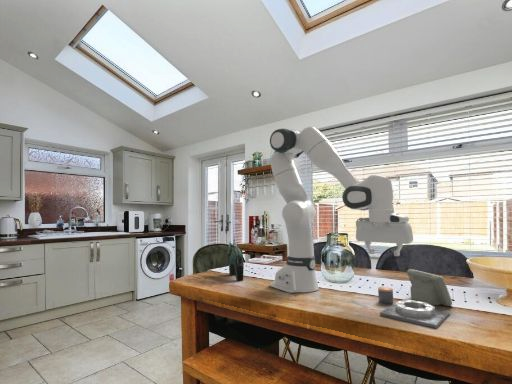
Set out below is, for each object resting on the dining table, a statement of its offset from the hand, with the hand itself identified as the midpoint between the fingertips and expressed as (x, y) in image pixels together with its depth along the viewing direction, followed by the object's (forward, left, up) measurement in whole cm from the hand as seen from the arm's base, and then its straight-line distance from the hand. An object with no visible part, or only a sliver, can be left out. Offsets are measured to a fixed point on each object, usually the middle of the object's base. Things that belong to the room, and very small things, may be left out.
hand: (383, 254), depth 110 cm
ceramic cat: (-75, -8, -18) cm, 78 cm away
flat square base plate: (+12, -7, -17) cm, 22 cm away
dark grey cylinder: (0, 0, -18) cm, 18 cm away
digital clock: (+11, +12, -18) cm, 24 cm away
